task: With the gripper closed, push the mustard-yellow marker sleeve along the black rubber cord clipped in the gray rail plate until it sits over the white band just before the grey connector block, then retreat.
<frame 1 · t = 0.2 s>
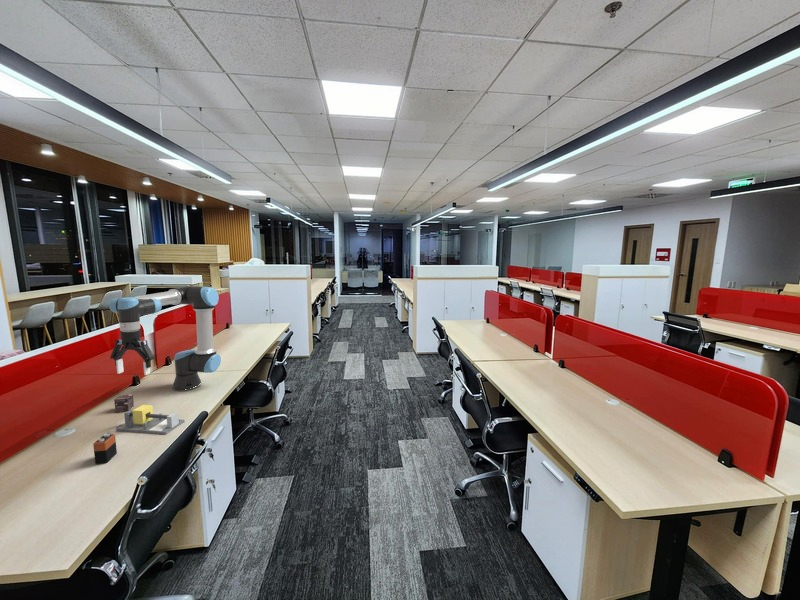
hand: (133, 373, 157), 27 cm above the table, fingers open, 13 cm apart
box: (124, 410, 177), on the table
gray rail plate: (151, 426, 161), on the table
sleeve: (143, 414, 161), point 6 cm above the table, slide at -4.0 cm
battery: (106, 459, 136), on the table
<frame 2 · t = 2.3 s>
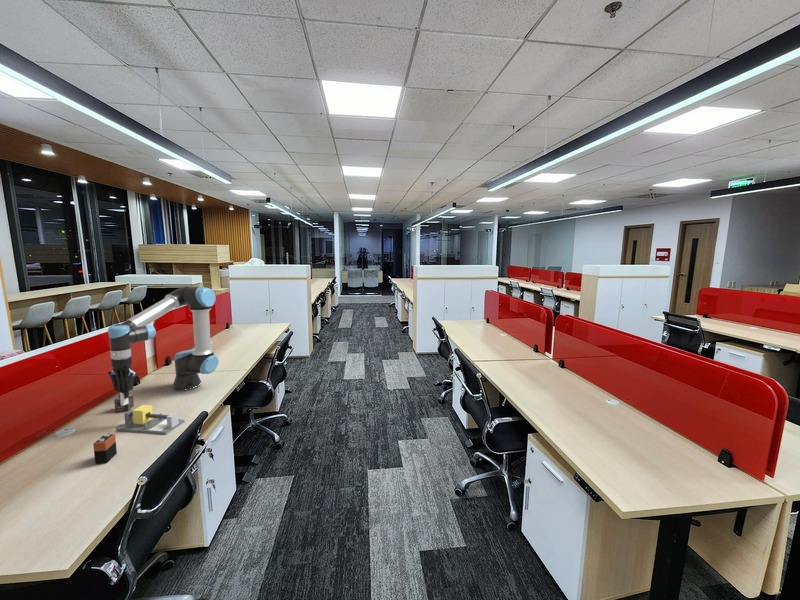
hand: (124, 404, 161), 11 cm above the table, fingers closed
nothing on the table moved.
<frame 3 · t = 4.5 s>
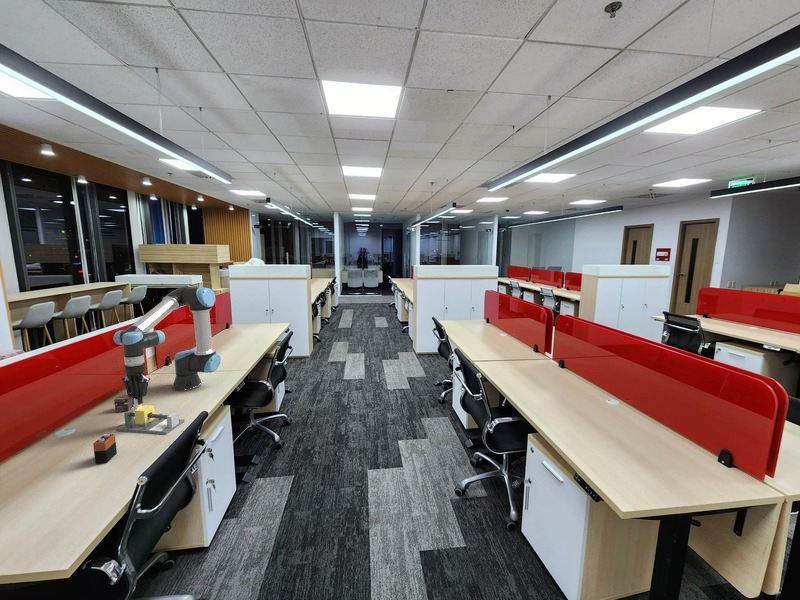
hand: (138, 410, 161), 8 cm above the table, fingers closed
sleeve: (145, 414, 161), point 6 cm above the table, slide at -3.0 cm, touching gripper
everything else where it was.
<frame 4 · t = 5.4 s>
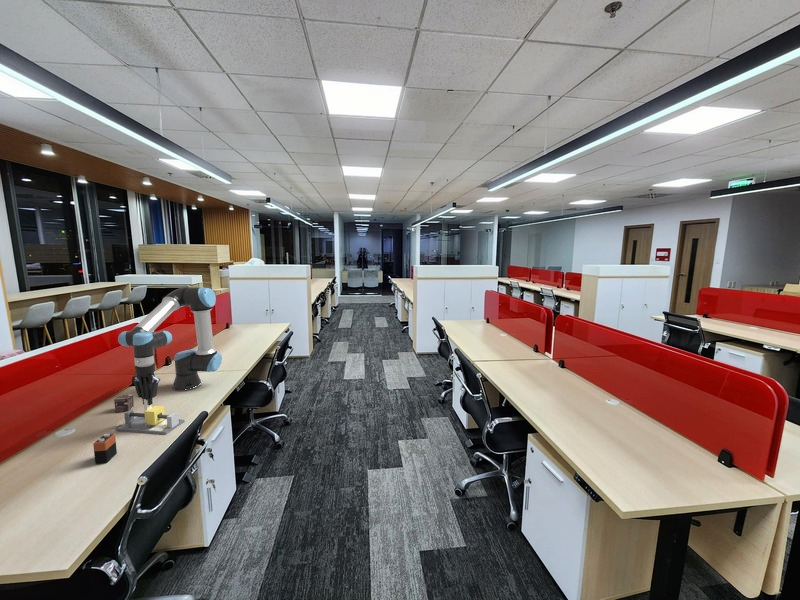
hand: (148, 410, 160), 8 cm above the table, fingers closed
sleeve: (154, 415, 161), point 6 cm above the table, slide at 2.1 cm, touching gripper
everything else where it was.
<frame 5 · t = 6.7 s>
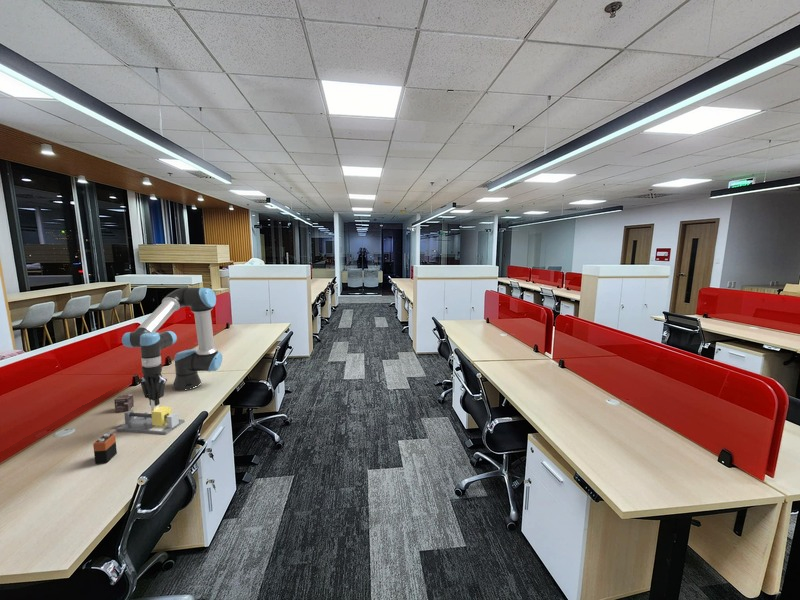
hand: (155, 411, 160), 8 cm above the table, fingers closed
sleeve: (161, 415, 160), point 6 cm above the table, slide at 5.7 cm, touching gripper
everything else where it was.
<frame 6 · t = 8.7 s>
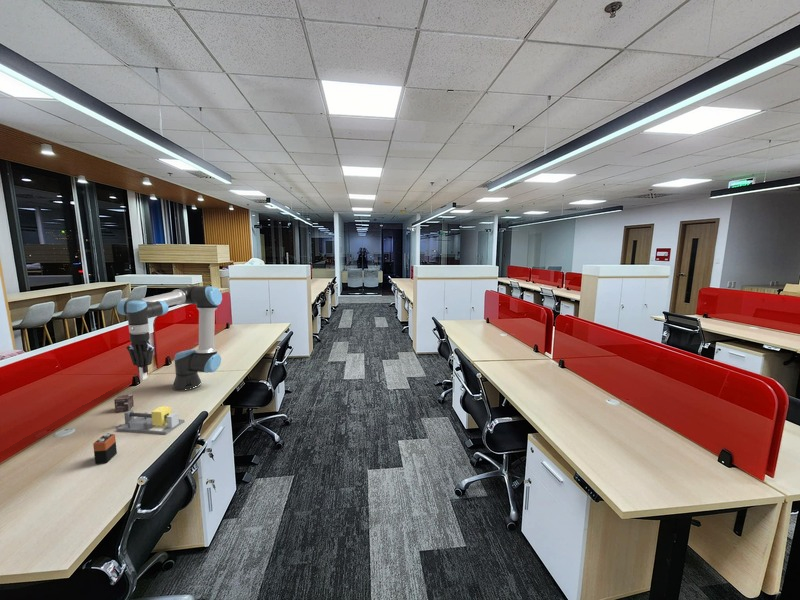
hand: (143, 378, 162), 23 cm above the table, fingers closed
sleeve: (161, 415, 160), point 6 cm above the table, slide at 5.7 cm
everything else where it was.
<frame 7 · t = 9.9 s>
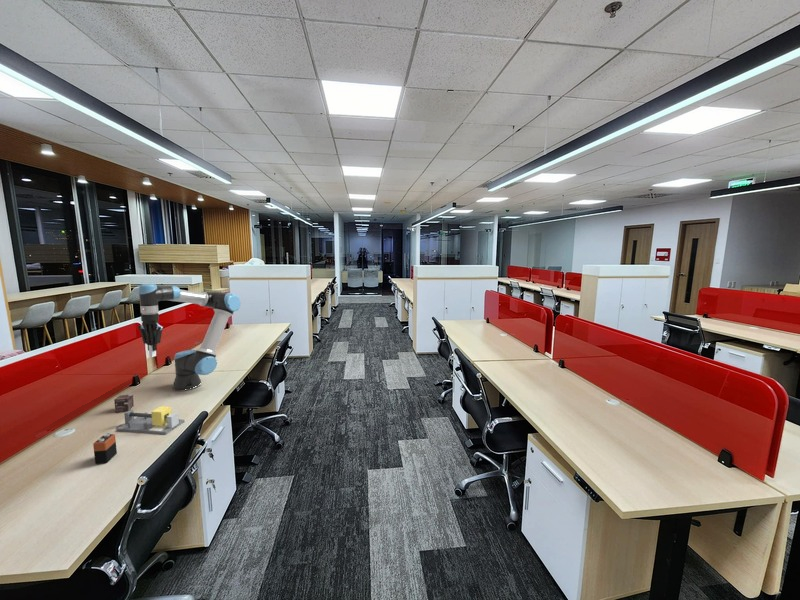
hand: (152, 356, 176), 29 cm above the table, fingers closed
nothing on the table moved.
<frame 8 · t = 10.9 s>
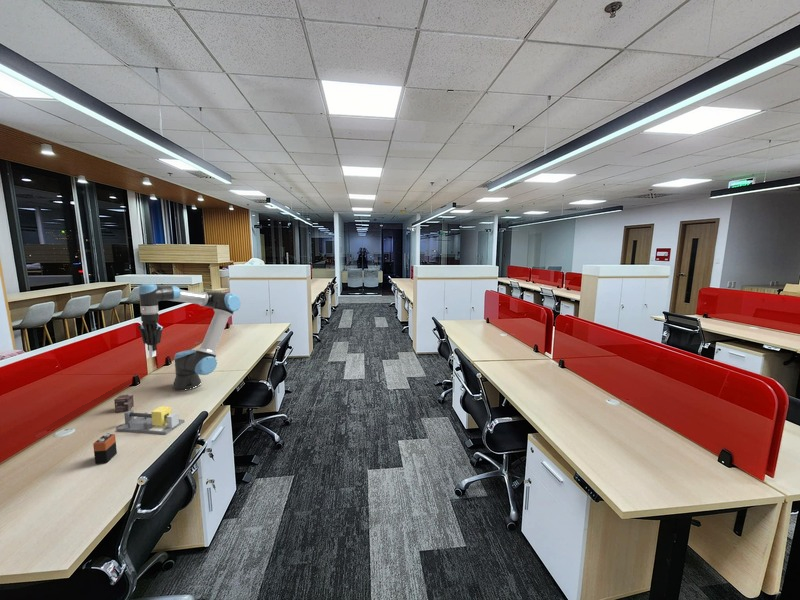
hand: (152, 356, 176), 29 cm above the table, fingers closed
nothing on the table moved.
at the end: sleeve slide at 5.7 cm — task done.
